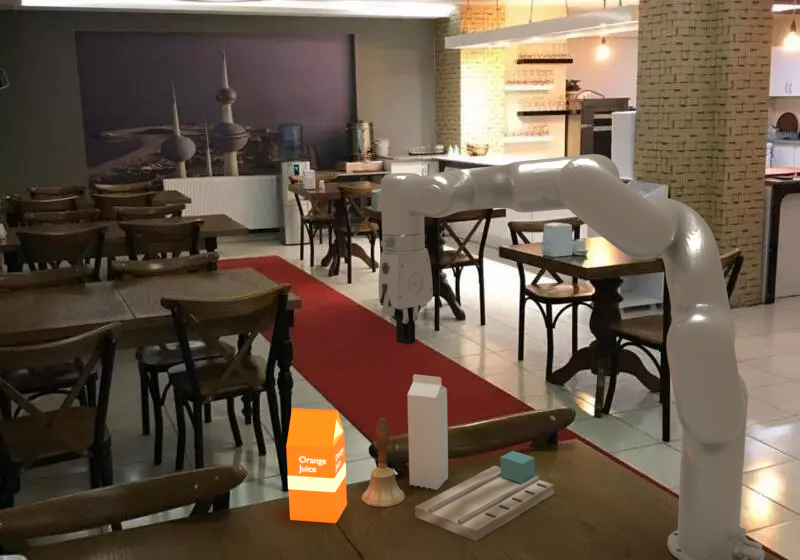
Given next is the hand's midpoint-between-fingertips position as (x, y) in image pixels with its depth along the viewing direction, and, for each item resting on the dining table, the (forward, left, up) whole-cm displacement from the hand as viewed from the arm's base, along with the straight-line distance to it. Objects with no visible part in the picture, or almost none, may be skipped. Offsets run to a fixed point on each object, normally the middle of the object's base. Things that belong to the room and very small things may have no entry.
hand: (405, 342), depth 155 cm
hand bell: (+5, +2, -31) cm, 32 cm away
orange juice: (+10, +14, -31) cm, 36 cm away
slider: (-12, -18, -29) cm, 36 cm away
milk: (+3, -9, -31) cm, 33 cm away
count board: (-12, -8, -31) cm, 34 cm away
